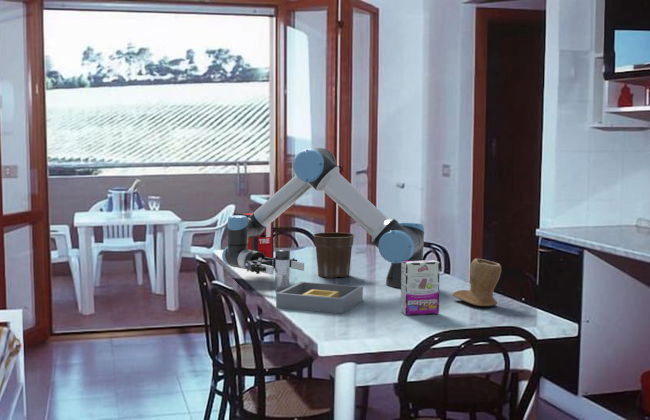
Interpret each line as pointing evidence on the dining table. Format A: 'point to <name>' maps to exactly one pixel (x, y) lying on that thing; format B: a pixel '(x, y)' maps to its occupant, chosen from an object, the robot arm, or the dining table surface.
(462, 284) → the dining table surface
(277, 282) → the two-tone metal cylinder
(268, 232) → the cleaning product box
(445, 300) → the dining table surface
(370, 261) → the dining table surface
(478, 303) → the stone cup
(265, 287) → the dining table surface
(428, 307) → the candy bar box
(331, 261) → the plant pot
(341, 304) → the walled tray
